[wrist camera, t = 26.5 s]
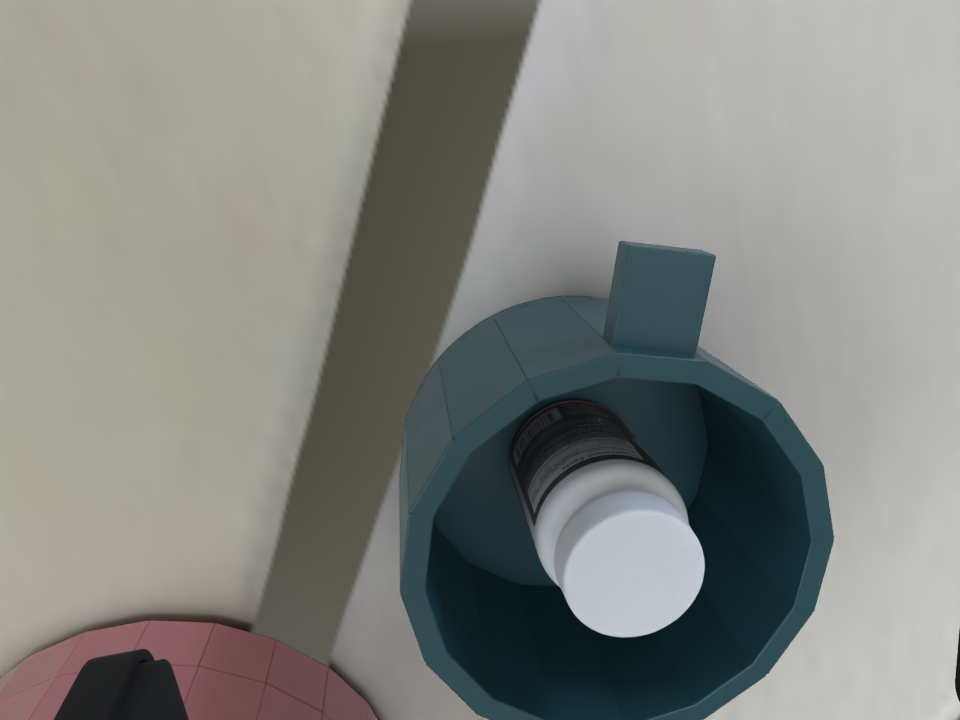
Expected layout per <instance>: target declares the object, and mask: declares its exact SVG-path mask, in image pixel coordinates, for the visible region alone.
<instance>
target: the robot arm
mask: <svg viewBox="0 0 960 720" xmlns="http://www.w3.org/2000/svg"><path fill="white" fill-rule="evenodd" d="M955 688H956V693H957V696H958V699H959V701H960V631H959V643H958V655H957V666H956V678H955ZM53 720H189V718H188V715H187V712H186V709H185V706H184V703H183V700H182V696H181V693H180V690H179V687H178V684H177V681H176V678H175V675H174V672H173V669H172V666H171V664H170V663H169V661H168V660H166V659H160V660H154V658H153V655H152V654H151V653H150V652H149V651H148V650H146V649H138V650H133V651H128V652H123V653H118V654H112V655H107V656H102V657H97V658H92V659H90V660H88V661H87V662H86V663H85V664H84V666H83V667H82V668H81V670H80V672H79V674H78V676H77V677H76V679H75V681H74V683H73V685H72V687H71V688H70V690H69V692H68V694H67V696H66V698H65V699H64V701H63V703H62V705H61V707H60V708H59V710H58V712H57V714H56V716H55V718H54V719H53Z"/></svg>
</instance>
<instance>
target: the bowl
mask: <svg viewBox="0 0 960 720" xmlns="http://www.w3.org/2000/svg"><path fill="white" fill-rule="evenodd" d="M138 649H146V650H148V651H149V652H150V653H151V654H152V655H153V658H154V660H160V659H166V660H168V661H169V663H170V664H171V666H172V669H173V672H174V675H175V678H176V681H177V684H178V687H179V690H180V693H181V696H182V700H183V703H184V706H185V709H186V712H187V715H188V718H189V720H378V719H377V718H376V716H375V714H374V713H373V711H372V709H371V708H370V706H369V705H368V703H367V702H366V701H365V700H364V699H363V698H362V697H361V696H360V695H359V694H358V693H356V692H355V691H354V690H353V689H352V688H351V687H350V686H349V685H348V684H347V683H346V682H345V681H344V680H342V679H341V678H340V677H339V676H338V675H337V674H336V673H335V672H334V671H333V670H332V669H331V668H328V667H327V666H326V665H324V664H322V663H320V662H318V661H316V660H314V659H312V658H311V657H309V656H307V655H305V654H303V653H301V652H299V651H297V650H295V649H294V648H292V647H290V646H288V645H286V644H284V643H282V642H280V641H279V640H276V639H274V638H270V637H266V636H263V635H259V634H255V633H251V632H248V631H244V630H240V629H236V628H233V627H229V626H225V625H221V624H218V623H216V624H214V623H206V622H181V621H156V620H151V621H142V622H137V623H131V624H126V625H120V626H115V627H109V628H104V629H98V630H92V631H87V632H83V633H81V634H78V635H76V636H74V637H71V638H69V639H67V640H65V641H62V642H60V643H58V644H55V645H53V646H51V647H48V648H46V649H44V650H42V651H39V652H37V653H35V654H32V655H30V656H28V657H27V658H26V659H24V660H23V661H21V662H20V663H19V664H17V665H16V666H15V667H14V668H12V669H11V670H10V671H9V672H7V673H6V674H5V675H4V676H2V677H1V678H0V720H53V719H54V718H55V716H56V714H57V712H58V710H59V708H60V707H61V705H62V703H63V701H64V699H65V698H66V696H67V694H68V692H69V690H70V688H71V687H72V685H73V683H74V681H75V679H76V677H77V676H78V674H79V672H80V670H81V668H82V667H83V666H84V664H85V663H86V662H87V661H88V660H90V659H92V658H97V657H102V656H107V655H112V654H118V653H123V652H128V651H133V650H138Z"/></svg>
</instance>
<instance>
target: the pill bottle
mask: <svg viewBox="0 0 960 720" xmlns="http://www.w3.org/2000/svg"><path fill="white" fill-rule="evenodd" d="M510 470H511V475H512V479H513V483H514V486H515V489H516V491H517V495H518V497H519V500H520V503H521V506H522V509H523V512H524V515H525V518H526V521H527V524H528V527H529V530H530V533H531V536H532V539H533V542H534V545H535V548H536V551H537V554H538V557H539V559H540V561H541V563H542V565H543V567H544V569H545V571H546V572H547V574H548V575H549V577H550V578H551V579H552V580H553V581H554V582H555V583H556V584H557V585H558V586H559V587H560V588H561V590H562V592H563V594H564V596H565V599H566V601H567V603H568V605H569V607H570V609H571V610H572V611H573V613H574V614H575V616H576V617H577V618H578V619H579V620H580V621H581V622H582V623H583V624H585V625H586V626H588V627H589V628H591V629H592V630H594V631H596V632H599V633H601V634H604V635H608V636H614V637H637V636H642V635H647V634H650V633H653V632H656V631H658V630H660V629H662V628H664V627H666V626H667V625H669V624H671V623H672V622H674V621H675V620H677V619H678V618H679V617H680V616H681V615H682V614H683V613H684V612H685V611H686V610H687V609H688V608H689V607H690V605H691V604H692V603H693V601H694V600H695V598H696V596H697V594H698V592H699V590H700V588H701V585H702V582H703V577H704V570H705V563H704V555H703V550H702V547H701V545H700V542H699V540H698V538H697V537H696V535H695V533H694V532H693V531H692V529H691V527H690V526H689V522H688V515H687V510H686V507H685V504H684V501H683V499H682V497H681V495H680V494H679V492H678V491H677V489H676V488H675V486H674V485H673V483H672V482H671V481H670V480H669V479H668V477H667V476H666V475H665V474H664V473H663V471H662V470H661V469H660V468H659V466H658V465H657V464H656V463H655V461H654V460H653V459H652V458H651V457H650V455H649V454H648V452H647V451H646V450H645V449H644V448H643V447H642V445H641V444H640V443H639V442H638V440H637V439H636V438H635V437H634V435H633V434H632V433H631V432H630V430H629V429H628V428H627V426H626V425H625V424H624V423H623V421H622V420H620V419H619V417H618V416H616V415H615V414H614V413H613V412H612V411H610V410H609V409H607V408H605V407H603V406H601V405H598V404H595V403H592V402H587V401H580V400H569V401H562V402H558V403H554V404H552V405H549V406H547V407H545V408H543V409H541V410H540V411H538V412H537V413H536V414H534V415H533V416H532V417H531V418H530V419H529V420H528V421H527V422H526V423H525V424H524V425H523V426H522V428H521V429H520V431H519V432H518V434H517V436H516V438H515V440H514V443H513V446H512V450H511V457H510Z"/></svg>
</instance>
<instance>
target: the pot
mask: <svg viewBox="0 0 960 720" xmlns="http://www.w3.org/2000/svg"><path fill="white" fill-rule="evenodd" d="M715 258H716V257H715V255H713V254H711V253H708V252H705V251H702V250H696V249H687V248H678V247H670V246H661V245H652V244H643V243H634V242H626V241H620V242H619V245H618V251H617V256H616V262H615V268H614V274H613V280H612V286H611V291H610V297H609V300H606V299H600V298H594V297H586V296H559V297H558V296H557V297H550V298H543V299H538V300H534V301H530V302H525V303H522V304H519V305H516V306H514V307H511V308H508V309H505V310H503V311H501V312H499V313H497V314H495V315H493V316H491V317H489V318H487V319H485V320H483V321H482V322H480V323H479V324H477V325H476V326H474V327H473V328H472V329H470V330H469V331H467V332H466V333H464V334H463V335H462V336H461V337H460V338H459V339H458V340H456V341H455V342H454V343H453V344H452V345H451V346H450V347H449V348H448V349H447V350H446V351H445V352H444V353H443V354H442V355H441V357H439V359H438V360H437V361H436V362H435V364H434V365H433V366H432V368H431V369H430V371H429V372H428V374H427V375H426V377H425V378H424V380H423V381H422V383H421V385H420V387H419V389H418V391H417V393H416V395H415V398H414V400H413V402H412V405H411V408H410V410H409V411H408V413H407V417H406V418H405V428H404V436H403V442H402V457H401V467H400V591H401V597H402V600H403V602H404V605H405V608H406V611H407V613H408V616H409V619H410V622H411V625H412V627H413V630H414V633H415V636H416V638H417V641H418V644H419V647H420V649H421V652H422V655H423V658H424V661H425V662H426V664H427V665H428V666H429V667H430V668H431V669H432V670H433V671H434V672H435V673H436V674H437V675H438V676H439V677H440V678H441V679H442V680H443V681H444V682H445V683H446V684H447V685H448V686H449V687H450V688H451V689H452V690H453V691H454V692H455V693H456V694H457V695H458V696H459V697H460V698H461V699H462V700H463V701H464V702H465V703H466V704H467V705H468V706H469V707H470V708H471V709H472V710H473V711H474V712H475V713H476V714H477V715H480V716H482V717H484V718H487V719H490V720H701V719H702V720H703V719H705V718H706V717H708V716H709V715H711V714H712V713H714V712H715V711H716V710H718V709H719V708H721V707H722V706H724V705H725V704H726V703H728V702H729V701H731V700H732V699H734V698H735V697H736V696H738V695H739V694H741V693H742V692H744V691H745V690H746V689H748V688H749V687H751V686H752V685H754V684H755V683H756V682H758V681H759V680H761V679H762V678H764V677H765V676H766V674H768V673H769V672H770V670H771V669H772V668H773V666H774V665H775V663H776V662H777V661H778V659H779V658H780V657H781V655H782V654H783V653H784V651H785V650H786V649H787V647H788V646H789V644H790V643H791V642H792V640H793V639H794V638H795V636H796V635H797V634H798V632H799V631H800V629H801V628H802V627H803V625H804V624H805V623H806V621H807V620H808V619H809V617H810V616H811V615H812V612H814V609H815V606H816V602H817V599H818V595H819V591H820V588H821V584H822V581H823V577H824V573H825V570H826V566H827V563H828V559H829V555H830V552H831V548H832V545H833V541H834V539H833V538H834V535H833V529H832V522H831V515H830V508H829V501H828V495H827V488H826V481H825V474H824V467H823V465H822V462H821V461H820V459H819V458H818V456H817V455H816V453H815V452H814V451H813V449H812V448H811V446H810V445H809V443H808V442H807V440H806V439H805V438H804V436H803V435H802V433H801V432H800V430H799V429H798V427H797V426H796V424H795V423H794V422H793V420H792V419H791V417H790V416H789V414H788V413H787V411H786V410H785V409H784V407H783V406H782V404H781V403H780V402H779V401H778V400H777V399H776V398H774V397H773V396H771V395H770V394H768V393H767V392H765V391H764V390H762V389H761V388H759V387H758V386H757V385H755V384H754V383H752V382H751V381H749V380H748V379H746V378H745V377H743V376H742V375H740V374H739V373H737V372H736V371H734V370H733V369H732V368H730V367H729V366H727V365H726V364H724V363H723V362H721V361H720V360H718V359H717V358H715V357H714V356H712V355H711V354H710V353H708V352H707V351H705V350H704V349H702V348H701V347H699V346H698V340H699V335H700V330H701V325H702V320H703V316H704V311H705V306H706V301H707V296H708V292H709V287H710V282H711V277H712V272H713V267H714V263H715ZM569 400H580V401H587V402H592V403H595V404H598V405H601V406H603V407H605V408H607V409H609V410H610V411H612V412H613V413H614V414H615V415H616V416H618V417H619V419H620V420H622V421H623V423H624V424H625V425H626V426H627V428H628V429H629V430H630V432H631V433H632V434H633V435H634V437H635V438H636V439H637V440H638V442H639V443H640V444H641V445H642V447H643V448H644V449H645V450H646V451H647V452H648V454H649V455H650V457H651V458H652V459H653V460H654V461H655V463H656V464H657V465H658V466H659V468H660V469H661V470H662V471H663V473H664V474H665V475H666V476H667V477H668V479H669V480H670V481H671V482H672V483H673V485H674V486H675V488H676V489H677V491H678V492H679V494H680V495H681V497H682V499H683V501H684V504H685V507H686V510H687V515H688V522H689V526H690V527H691V529H692V531H693V532H694V533H695V535H696V537H697V538H698V540H699V542H700V545H701V547H702V550H703V555H704V563H705V570H704V577H703V582H702V585H701V588H700V590H699V592H698V594H697V596H696V598H695V600H694V601H693V603H692V604H691V605H690V607H689V608H688V609H687V610H686V611H685V612H684V613H683V614H682V615H681V616H680V617H679V618H678V619H677V620H675V621H674V622H672V623H671V624H669V625H667V626H666V627H664V628H662V629H660V630H658V631H656V632H653V633H650V634H647V635H642V636H637V637H614V636H608V635H604V634H601V633H599V632H596V631H594V630H592V629H591V628H589V627H588V626H586V625H585V624H583V623H582V622H581V621H580V620H579V619H578V618H577V617H576V616H575V614H574V613H573V611H572V610H571V609H570V607H569V605H568V603H567V601H566V599H565V596H564V594H563V592H562V590H561V588H560V587H559V586H558V585H557V584H556V583H555V582H554V581H553V580H552V579H551V578H550V577H549V575H548V574H547V572H546V571H545V569H544V567H543V565H542V563H541V561H540V559H539V557H538V554H537V551H536V548H535V545H534V542H533V539H532V536H531V533H530V530H529V527H528V524H527V521H526V518H525V515H524V512H523V509H522V506H521V503H520V500H519V497H518V495H517V491H516V489H515V486H514V483H513V479H512V475H511V470H510V457H511V450H512V446H513V443H514V440H515V438H516V436H517V434H518V432H519V431H520V429H521V428H522V426H523V425H524V424H525V423H526V422H527V421H528V420H529V419H530V418H531V417H532V416H533V415H534V414H536V413H537V412H538V411H540V410H541V409H543V408H545V407H547V406H549V405H552V404H554V403H558V402H562V401H569Z"/></svg>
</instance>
